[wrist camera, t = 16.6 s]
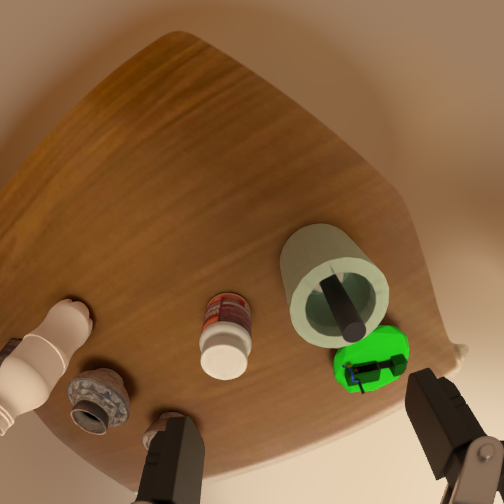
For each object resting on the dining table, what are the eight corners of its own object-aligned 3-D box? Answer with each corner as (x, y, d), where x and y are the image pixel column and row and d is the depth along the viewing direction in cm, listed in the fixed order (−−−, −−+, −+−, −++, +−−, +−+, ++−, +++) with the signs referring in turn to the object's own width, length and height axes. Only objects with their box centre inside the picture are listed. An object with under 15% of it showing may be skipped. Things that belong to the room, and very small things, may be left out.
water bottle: (75, 337, 46) (2, 448, 22) (51, 302, 44) (-39, 403, 20) (105, 325, 45) (30, 449, 22) (80, 287, 43) (-17, 398, 19)
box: (19, 356, 48) (-11, 393, 37) (11, 337, 47) (-22, 373, 35) (40, 359, 48) (11, 400, 37) (32, 340, 47) (-1, 380, 35)
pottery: (181, 443, 55) (173, 490, 44) (73, 376, 49) (46, 420, 38) (214, 419, 52) (209, 472, 41) (94, 343, 46) (64, 390, 35)
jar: (273, 231, 40) (282, 268, 29) (351, 217, 40) (388, 248, 28) (285, 302, 44) (296, 356, 32) (357, 287, 43) (388, 336, 32)
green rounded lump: (326, 376, 49) (341, 426, 38) (327, 316, 45) (346, 365, 34) (394, 362, 48) (418, 407, 38) (402, 303, 44) (435, 345, 34)
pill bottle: (214, 285, 43) (203, 333, 32) (257, 299, 43) (260, 350, 33) (201, 322, 45) (189, 374, 34) (242, 334, 45) (241, 388, 35)
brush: (300, 250, 40) (328, 317, 25) (333, 244, 40) (378, 306, 25) (304, 281, 42) (331, 357, 27) (337, 275, 42) (377, 346, 27)
